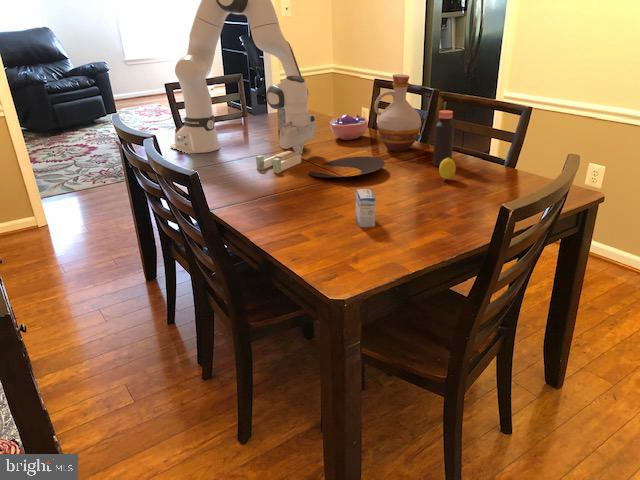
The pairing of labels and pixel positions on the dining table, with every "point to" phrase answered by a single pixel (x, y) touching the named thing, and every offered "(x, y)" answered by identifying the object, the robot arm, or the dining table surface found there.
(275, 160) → the green-tipped fork clamp
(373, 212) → the medicine box
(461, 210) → the dining table surface
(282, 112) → the coffee box
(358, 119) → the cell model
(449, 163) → the lemon
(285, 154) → the maple block
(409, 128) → the jug
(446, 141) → the bottle
